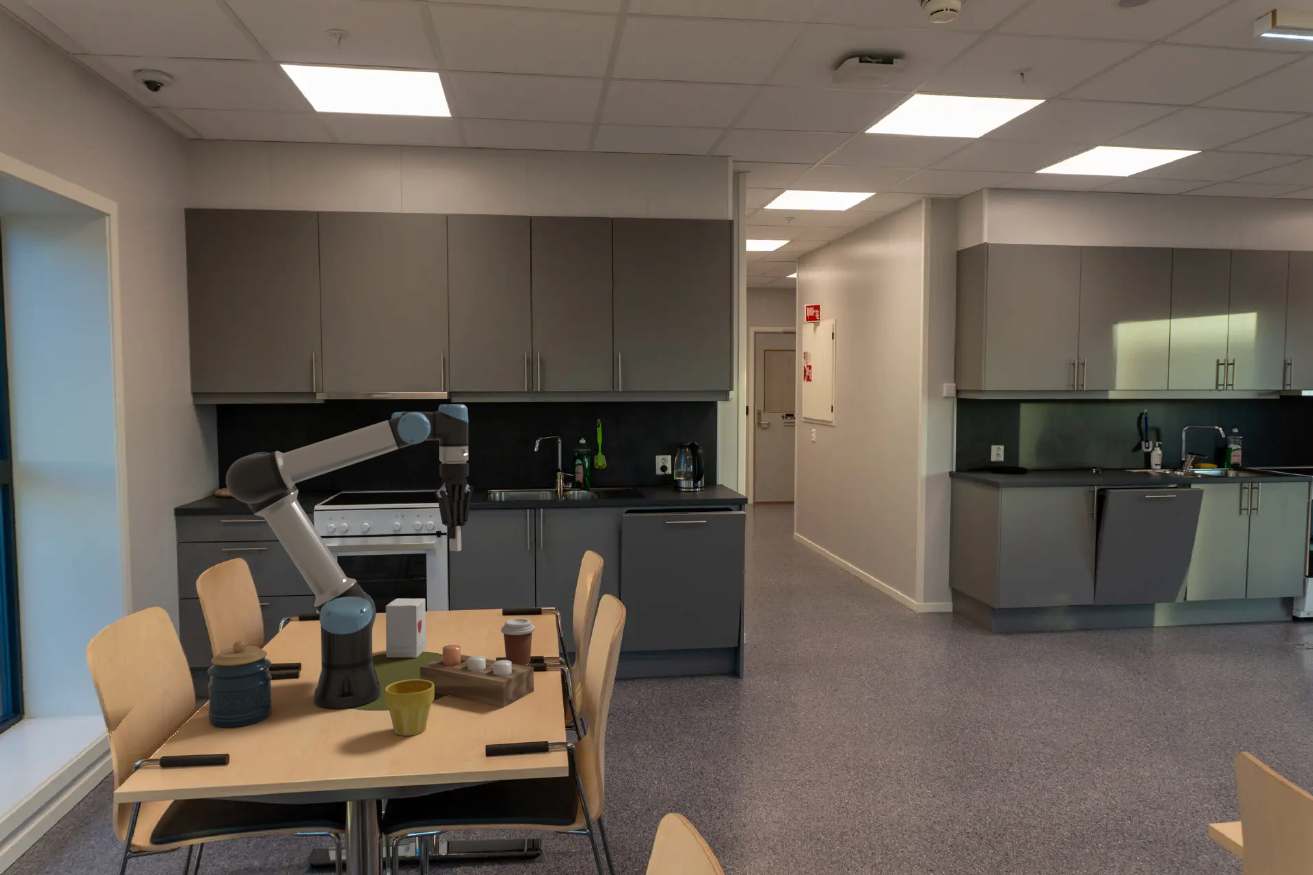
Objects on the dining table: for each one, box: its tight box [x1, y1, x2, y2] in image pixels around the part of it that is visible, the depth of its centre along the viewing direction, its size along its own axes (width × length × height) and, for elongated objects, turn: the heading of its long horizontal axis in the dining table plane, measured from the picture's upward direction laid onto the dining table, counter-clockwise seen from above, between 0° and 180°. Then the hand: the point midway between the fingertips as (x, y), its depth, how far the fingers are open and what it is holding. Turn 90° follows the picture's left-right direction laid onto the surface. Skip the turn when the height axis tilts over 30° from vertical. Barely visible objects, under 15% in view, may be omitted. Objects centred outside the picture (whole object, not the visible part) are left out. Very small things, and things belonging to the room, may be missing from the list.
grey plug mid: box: [468, 655, 487, 671], centre depth 203 cm, size 4×4×7 cm
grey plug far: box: [493, 659, 512, 676], centre depth 200 cm, size 4×4×7 cm
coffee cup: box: [500, 617, 536, 666], centre depth 223 cm, size 9×9×12 cm
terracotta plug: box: [442, 644, 462, 667], centre depth 207 cm, size 4×4×7 cm
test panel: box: [419, 654, 535, 708], centre depth 203 cm, size 12×26×6 cm, turn 63°
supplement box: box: [385, 598, 427, 659], centre depth 234 cm, size 9×9×15 cm
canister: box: [206, 640, 273, 728], centre depth 186 cm, size 13×13×18 cm
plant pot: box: [384, 678, 435, 737], centre depth 179 cm, size 10×10×10 cm
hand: (455, 550), depth 218 cm, fingers closed
